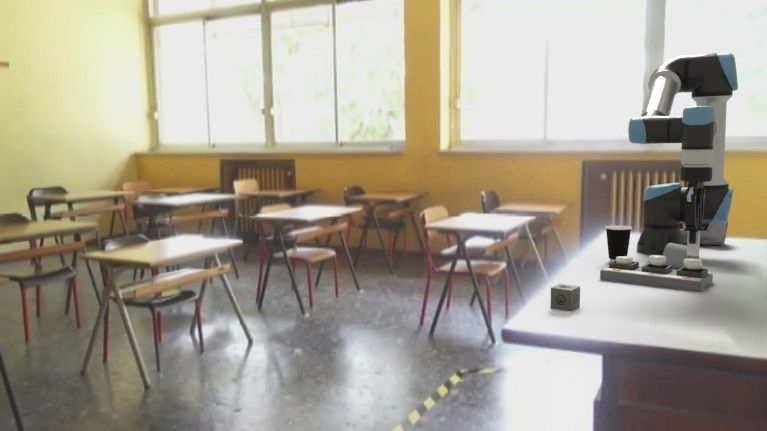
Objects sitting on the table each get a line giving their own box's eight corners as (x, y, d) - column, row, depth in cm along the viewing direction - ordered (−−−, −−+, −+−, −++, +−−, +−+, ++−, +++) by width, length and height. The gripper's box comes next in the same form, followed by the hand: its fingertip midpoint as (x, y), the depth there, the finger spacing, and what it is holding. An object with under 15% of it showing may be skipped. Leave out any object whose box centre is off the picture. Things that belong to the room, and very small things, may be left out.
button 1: (619, 262, 186) (619, 255, 185) (634, 264, 183) (634, 257, 183) (613, 264, 182) (613, 258, 182) (629, 266, 179) (629, 259, 179)
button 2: (685, 265, 174) (686, 257, 174) (703, 267, 171) (703, 259, 171) (681, 267, 171) (681, 260, 171) (699, 269, 168) (699, 262, 168)
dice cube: (559, 304, 154) (559, 283, 153) (579, 307, 151) (580, 286, 150) (550, 308, 150) (550, 287, 150) (571, 312, 147) (571, 290, 146)
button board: (615, 271, 189) (615, 258, 188) (712, 282, 172) (713, 268, 172) (600, 279, 180) (600, 265, 179) (700, 291, 163) (701, 276, 163)
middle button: (651, 261, 180) (651, 254, 180) (668, 263, 177) (668, 256, 177) (646, 264, 176) (646, 257, 176) (663, 266, 174) (663, 258, 173)
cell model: (730, 217, 224) (667, 216, 232) (729, 247, 225) (667, 246, 233) (727, 212, 235) (667, 212, 243) (726, 241, 237) (667, 240, 245)
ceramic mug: (689, 273, 185) (691, 247, 184) (661, 269, 191) (662, 244, 190) (704, 268, 192) (705, 243, 191) (676, 265, 198) (677, 240, 197)
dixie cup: (634, 263, 200) (635, 228, 199) (608, 263, 201) (609, 228, 199) (626, 259, 208) (627, 225, 207) (601, 259, 209) (602, 225, 207)
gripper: (687, 165, 175) (684, 250, 178) (673, 166, 165) (670, 257, 168) (718, 165, 171) (714, 253, 173) (705, 167, 161) (702, 260, 163)
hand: (692, 255), depth 171 cm, fingers closed
